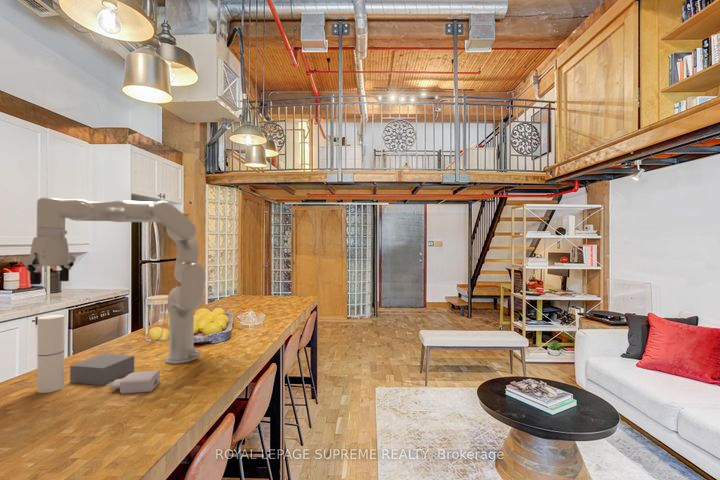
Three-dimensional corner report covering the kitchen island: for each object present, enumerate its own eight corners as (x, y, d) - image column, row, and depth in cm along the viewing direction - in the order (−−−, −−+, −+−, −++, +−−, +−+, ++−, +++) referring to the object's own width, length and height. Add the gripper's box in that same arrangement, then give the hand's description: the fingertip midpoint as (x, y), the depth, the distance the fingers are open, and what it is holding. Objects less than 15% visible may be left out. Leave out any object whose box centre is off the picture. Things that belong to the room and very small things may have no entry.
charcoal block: (134, 371, 143) (134, 355, 143) (103, 385, 129) (103, 368, 129) (103, 368, 145) (103, 353, 145) (70, 382, 131) (70, 365, 131)
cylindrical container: (34, 394, 121) (34, 319, 121) (41, 386, 127) (41, 315, 127) (61, 390, 124) (61, 317, 124) (66, 383, 130) (66, 314, 130)
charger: (113, 385, 129) (159, 382, 132) (100, 396, 120) (150, 392, 123) (113, 372, 129) (159, 369, 132) (100, 382, 120) (150, 379, 123)
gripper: (66, 234, 135) (65, 279, 135) (14, 232, 118) (13, 285, 118) (83, 234, 133) (82, 280, 133) (33, 232, 116) (32, 285, 116)
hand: (50, 282), depth 125 cm, fingers open, 9 cm apart
